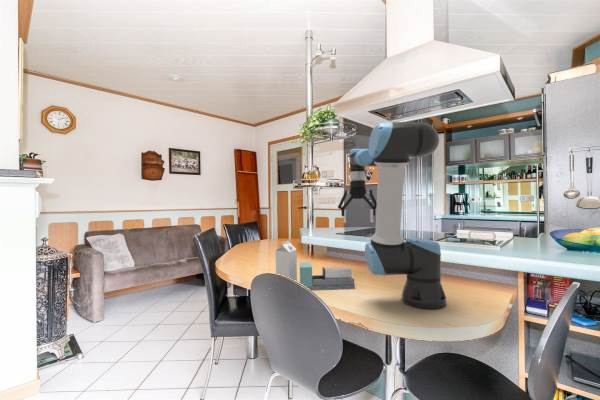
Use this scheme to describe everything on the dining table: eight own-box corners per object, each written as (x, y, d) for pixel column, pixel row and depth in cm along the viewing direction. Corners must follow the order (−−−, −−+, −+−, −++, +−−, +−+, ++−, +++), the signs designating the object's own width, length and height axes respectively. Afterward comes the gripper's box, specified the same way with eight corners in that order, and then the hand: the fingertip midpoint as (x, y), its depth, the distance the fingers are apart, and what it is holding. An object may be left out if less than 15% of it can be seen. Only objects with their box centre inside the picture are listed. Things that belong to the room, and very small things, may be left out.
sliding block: (351, 283, 128) (351, 269, 128) (323, 284, 128) (323, 269, 128) (349, 280, 133) (349, 266, 133) (322, 281, 132) (322, 267, 132)
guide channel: (354, 288, 126) (354, 279, 126) (300, 290, 126) (300, 280, 125) (350, 282, 135) (350, 273, 135) (300, 283, 135) (299, 275, 134)
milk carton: (276, 283, 135) (275, 242, 135) (284, 279, 142) (283, 239, 141) (289, 285, 132) (288, 243, 132) (297, 281, 138) (296, 240, 138)
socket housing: (312, 286, 126) (312, 267, 125) (300, 286, 125) (300, 267, 125) (311, 280, 135) (310, 262, 134) (299, 280, 134) (299, 262, 134)
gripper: (380, 180, 154) (380, 221, 154) (331, 181, 154) (332, 222, 154) (384, 179, 146) (385, 222, 147) (333, 180, 146) (334, 223, 146)
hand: (358, 222), depth 150 cm, fingers open, 13 cm apart
